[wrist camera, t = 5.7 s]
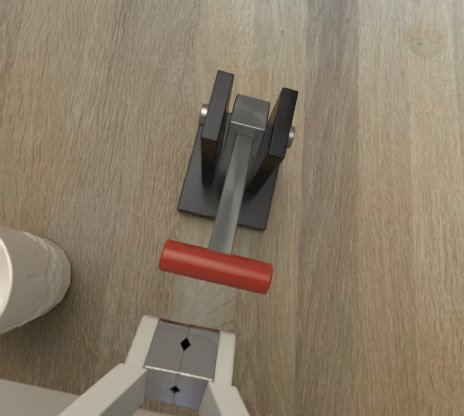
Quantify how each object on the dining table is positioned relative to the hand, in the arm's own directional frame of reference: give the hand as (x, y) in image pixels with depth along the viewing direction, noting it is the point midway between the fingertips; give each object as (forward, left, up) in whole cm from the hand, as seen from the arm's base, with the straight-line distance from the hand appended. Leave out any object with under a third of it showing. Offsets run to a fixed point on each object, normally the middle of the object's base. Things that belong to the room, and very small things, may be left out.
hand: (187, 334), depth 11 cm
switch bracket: (+11, -1, -18) cm, 22 cm away
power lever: (+7, -1, -7) cm, 10 cm away
